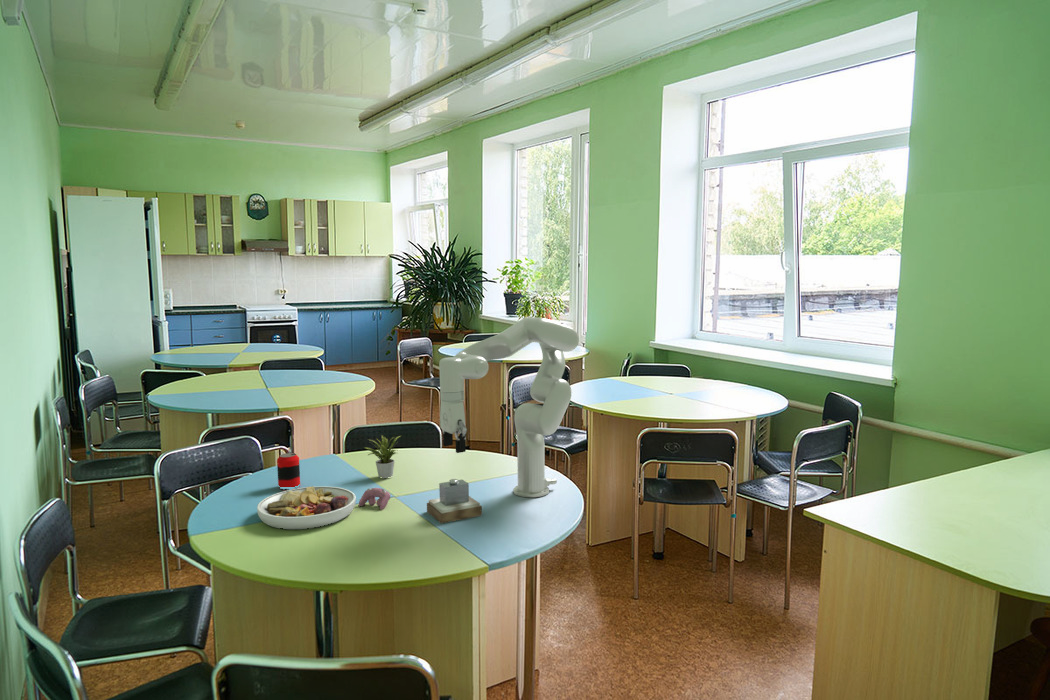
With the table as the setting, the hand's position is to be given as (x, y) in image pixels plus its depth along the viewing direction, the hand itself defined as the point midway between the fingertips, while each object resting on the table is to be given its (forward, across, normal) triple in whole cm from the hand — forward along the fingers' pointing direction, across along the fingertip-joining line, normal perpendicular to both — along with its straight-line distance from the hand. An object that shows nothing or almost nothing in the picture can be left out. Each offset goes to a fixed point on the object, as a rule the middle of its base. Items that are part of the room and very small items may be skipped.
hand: (454, 448), depth 213 cm
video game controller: (+21, -19, -21) cm, 35 cm away
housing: (+17, +2, -1) cm, 17 cm away
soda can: (+20, -55, -42) cm, 72 cm away
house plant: (+21, -50, -7) cm, 54 cm away
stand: (+21, +2, -2) cm, 21 cm away
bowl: (+21, -22, -42) cm, 52 cm away
